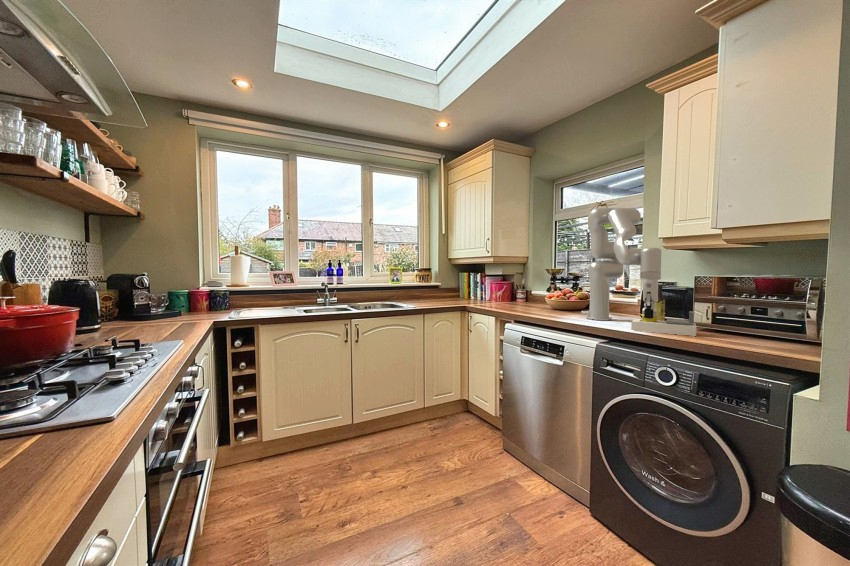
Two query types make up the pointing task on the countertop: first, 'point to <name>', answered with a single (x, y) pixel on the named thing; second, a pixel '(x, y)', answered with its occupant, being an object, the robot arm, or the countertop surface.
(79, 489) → the countertop surface
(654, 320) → the supplement bottle
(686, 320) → the grey l-shaped bracket
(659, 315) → the sauce bottle
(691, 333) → the holder
